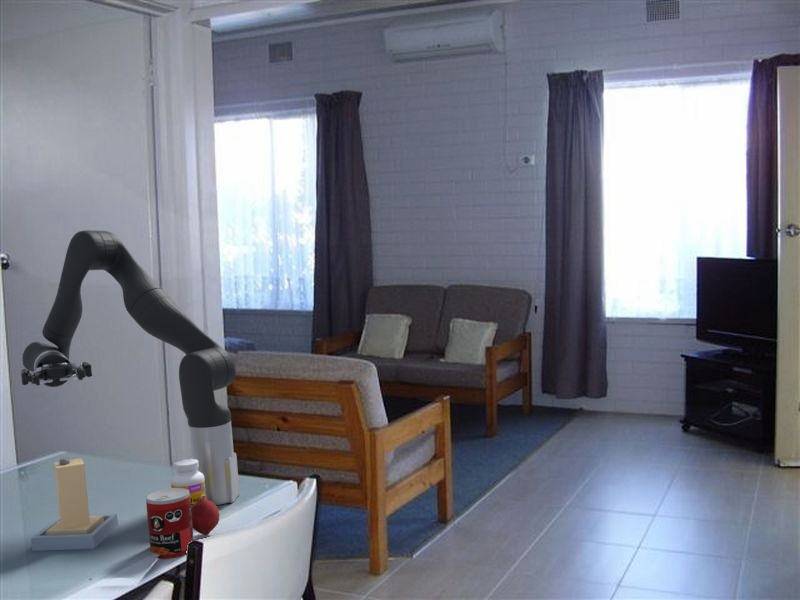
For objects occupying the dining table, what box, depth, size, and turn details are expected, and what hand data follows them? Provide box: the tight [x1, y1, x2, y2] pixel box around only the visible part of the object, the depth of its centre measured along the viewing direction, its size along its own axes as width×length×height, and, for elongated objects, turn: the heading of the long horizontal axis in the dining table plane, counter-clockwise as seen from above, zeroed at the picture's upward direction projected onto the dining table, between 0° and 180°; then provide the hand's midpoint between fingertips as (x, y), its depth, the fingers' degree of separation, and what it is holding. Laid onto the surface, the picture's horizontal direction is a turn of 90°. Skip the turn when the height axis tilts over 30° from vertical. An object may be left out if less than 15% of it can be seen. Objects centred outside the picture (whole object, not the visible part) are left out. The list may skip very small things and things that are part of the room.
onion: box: [191, 495, 220, 536], centre depth 174 cm, size 6×6×8 cm
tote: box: [30, 513, 119, 552], centre depth 174 cm, size 12×12×4 cm
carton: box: [53, 457, 90, 529], centre depth 173 cm, size 5×5×13 cm
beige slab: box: [46, 514, 104, 536], centre depth 174 cm, size 8×8×3 cm
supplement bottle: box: [170, 458, 206, 508], centre depth 181 cm, size 7×7×13 cm
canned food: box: [145, 487, 194, 560], centre depth 166 cm, size 8×8×11 cm
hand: (59, 377), depth 188 cm, fingers open, 8 cm apart
